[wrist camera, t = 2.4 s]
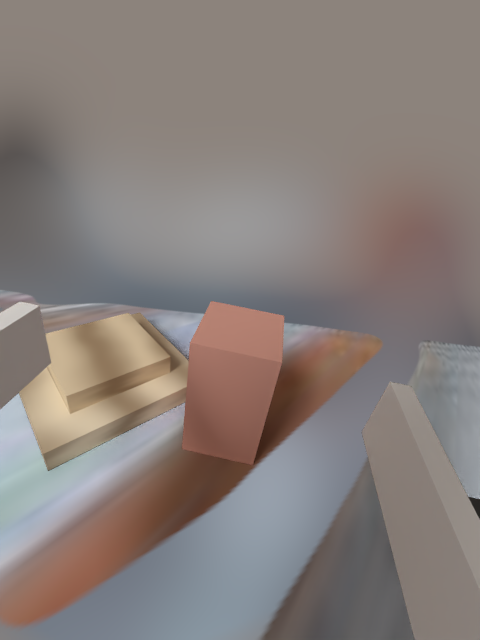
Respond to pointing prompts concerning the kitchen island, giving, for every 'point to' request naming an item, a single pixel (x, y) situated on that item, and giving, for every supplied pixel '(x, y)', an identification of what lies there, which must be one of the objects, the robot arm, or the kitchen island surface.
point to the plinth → (104, 414)
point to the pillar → (231, 381)
